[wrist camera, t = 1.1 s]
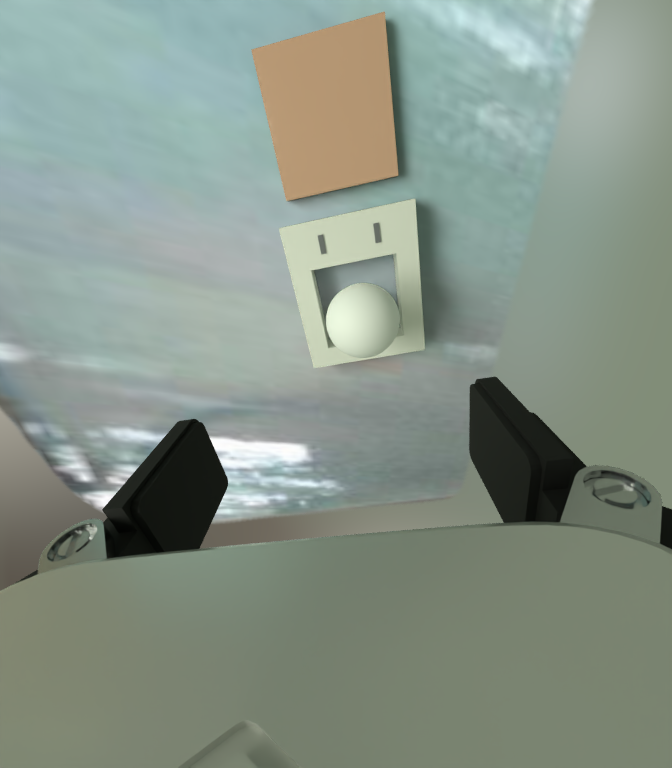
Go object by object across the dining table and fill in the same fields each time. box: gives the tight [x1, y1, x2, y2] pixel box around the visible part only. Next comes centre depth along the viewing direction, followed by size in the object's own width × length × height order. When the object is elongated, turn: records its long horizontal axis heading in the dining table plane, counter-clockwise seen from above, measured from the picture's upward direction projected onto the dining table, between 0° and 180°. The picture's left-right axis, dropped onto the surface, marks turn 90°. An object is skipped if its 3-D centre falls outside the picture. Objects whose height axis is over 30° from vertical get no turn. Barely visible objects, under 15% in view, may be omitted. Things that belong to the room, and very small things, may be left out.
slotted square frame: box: [279, 199, 425, 368], centre depth 32 cm, size 14×12×3 cm
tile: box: [252, 12, 398, 201], centre depth 26 cm, size 10×10×1 cm
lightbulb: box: [326, 283, 400, 358], centre depth 29 cm, size 6×6×11 cm
